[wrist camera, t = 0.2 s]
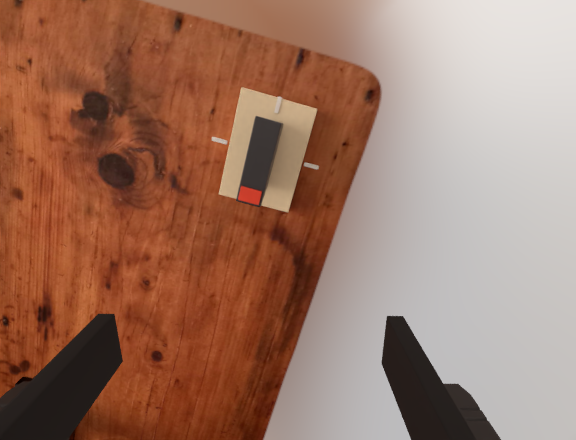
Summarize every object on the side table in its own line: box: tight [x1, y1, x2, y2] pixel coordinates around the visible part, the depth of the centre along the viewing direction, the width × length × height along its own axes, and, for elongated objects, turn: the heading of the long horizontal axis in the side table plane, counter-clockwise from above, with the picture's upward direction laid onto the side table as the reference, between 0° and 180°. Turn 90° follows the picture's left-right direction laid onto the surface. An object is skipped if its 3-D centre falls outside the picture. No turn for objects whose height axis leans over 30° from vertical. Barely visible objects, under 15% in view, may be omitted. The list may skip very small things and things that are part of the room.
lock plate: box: [212, 87, 319, 212], centre depth 30 cm, size 10×10×2 cm
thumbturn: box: [236, 116, 283, 207], centre depth 25 cm, size 6×2×8 cm, turn 165°
